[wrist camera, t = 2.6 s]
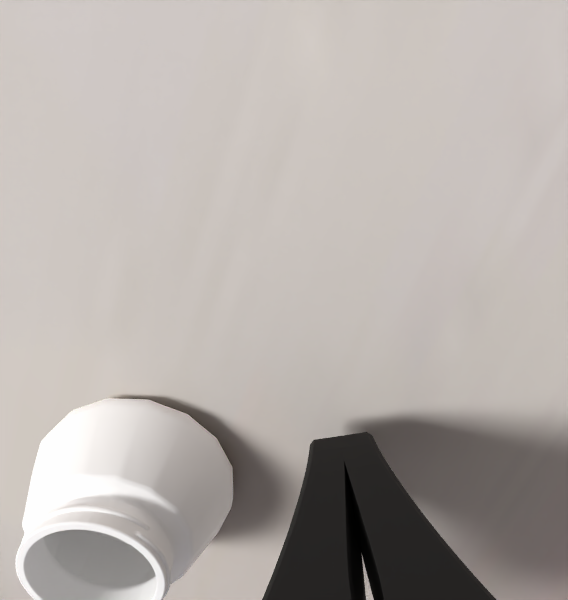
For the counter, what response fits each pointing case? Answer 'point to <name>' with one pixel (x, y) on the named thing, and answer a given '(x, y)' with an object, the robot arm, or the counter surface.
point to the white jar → (121, 502)
